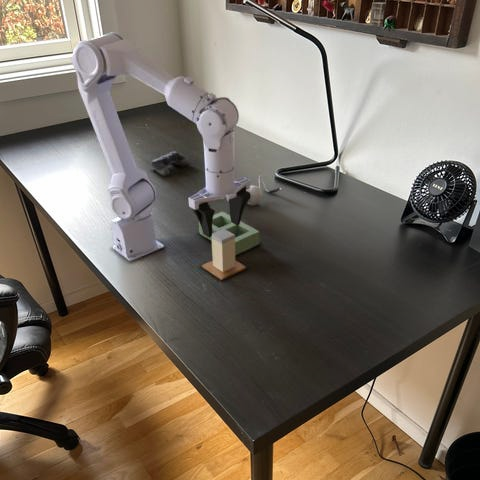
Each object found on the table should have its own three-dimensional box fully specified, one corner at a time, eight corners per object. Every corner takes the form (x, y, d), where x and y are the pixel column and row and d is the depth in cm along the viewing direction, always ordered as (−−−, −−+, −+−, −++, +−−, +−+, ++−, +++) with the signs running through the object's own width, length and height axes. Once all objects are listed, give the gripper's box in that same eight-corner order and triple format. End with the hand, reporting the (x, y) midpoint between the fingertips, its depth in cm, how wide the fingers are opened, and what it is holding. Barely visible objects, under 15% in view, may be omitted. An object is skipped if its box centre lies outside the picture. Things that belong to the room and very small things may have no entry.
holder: (235, 255, 114) (234, 242, 112) (199, 233, 122) (198, 221, 120) (259, 244, 118) (259, 231, 116) (222, 223, 126) (222, 211, 124)
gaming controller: (166, 177, 147) (161, 160, 145) (149, 176, 152) (145, 160, 149) (192, 164, 155) (188, 148, 152) (176, 164, 159) (171, 148, 157)
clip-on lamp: (261, 194, 145) (208, 196, 136) (264, 172, 142) (210, 172, 133) (284, 206, 137) (230, 208, 127) (289, 183, 134) (233, 184, 124)
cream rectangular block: (223, 272, 108) (221, 240, 103) (212, 265, 110) (211, 234, 105) (235, 266, 110) (234, 234, 105) (225, 259, 112) (224, 228, 107)
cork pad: (221, 280, 106) (221, 278, 106) (202, 267, 110) (201, 265, 110) (245, 268, 110) (245, 266, 110) (225, 256, 114) (225, 254, 114)
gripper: (202, 184, 90) (206, 248, 98) (261, 163, 97) (259, 224, 106) (180, 172, 94) (185, 235, 102) (237, 153, 101) (238, 213, 110)
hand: (221, 229), depth 104 cm, fingers open, 7 cm apart
